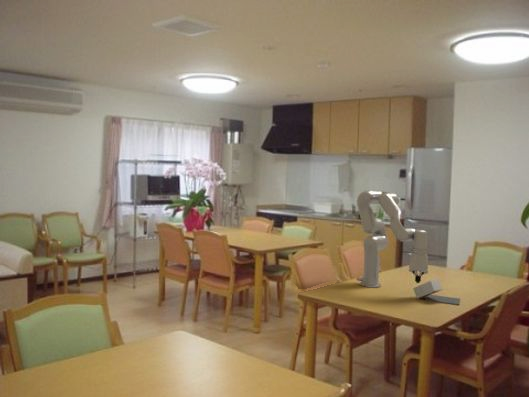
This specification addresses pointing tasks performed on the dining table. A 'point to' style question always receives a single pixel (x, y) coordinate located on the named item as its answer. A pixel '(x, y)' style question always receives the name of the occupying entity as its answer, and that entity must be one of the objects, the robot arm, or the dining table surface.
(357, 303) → the dining table surface
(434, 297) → the mat
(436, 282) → the small box
